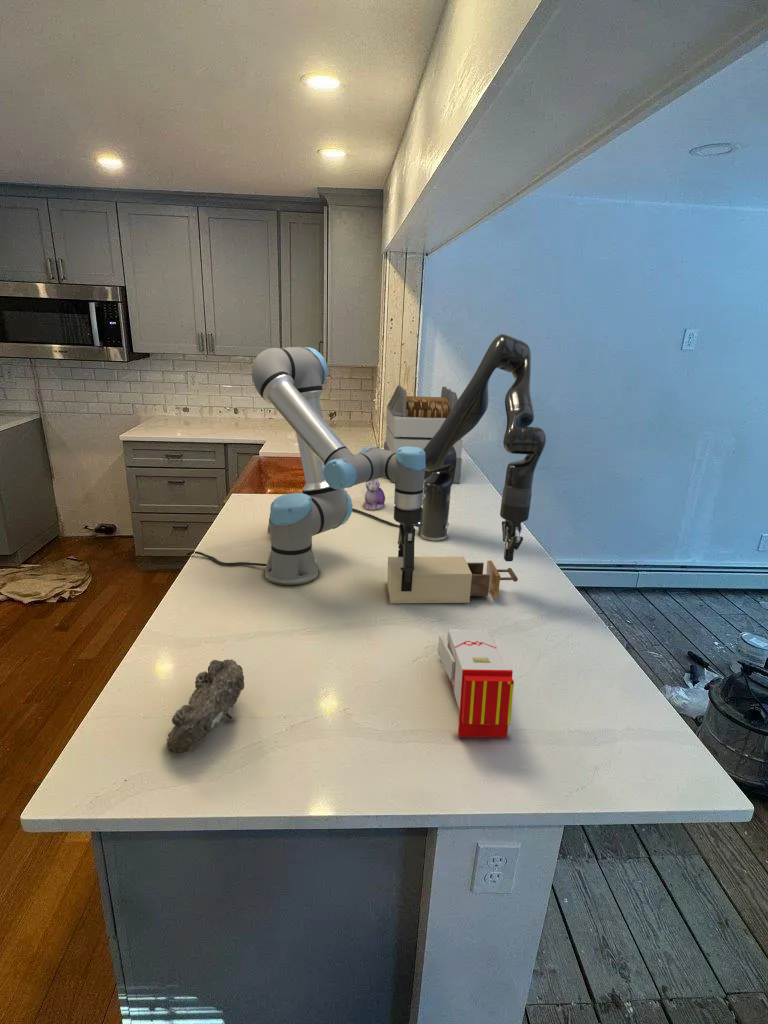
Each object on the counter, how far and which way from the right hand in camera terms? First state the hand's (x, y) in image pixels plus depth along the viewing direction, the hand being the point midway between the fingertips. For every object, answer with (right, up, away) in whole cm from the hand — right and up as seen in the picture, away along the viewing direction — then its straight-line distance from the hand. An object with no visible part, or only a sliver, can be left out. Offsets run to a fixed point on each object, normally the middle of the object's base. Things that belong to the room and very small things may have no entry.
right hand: (508, 560), depth 157 cm
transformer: (-17, +32, +118) cm, 124 cm away
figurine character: (-70, +6, +39) cm, 81 cm away
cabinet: (-22, -9, +2) cm, 24 cm away
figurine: (-38, +15, +69) cm, 81 cm away
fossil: (-67, -26, -49) cm, 87 cm away
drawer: (-11, -9, +2) cm, 14 cm away
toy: (-16, -24, -38) cm, 48 cm away
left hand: (-29, -6, 0) cm, 29 cm away
